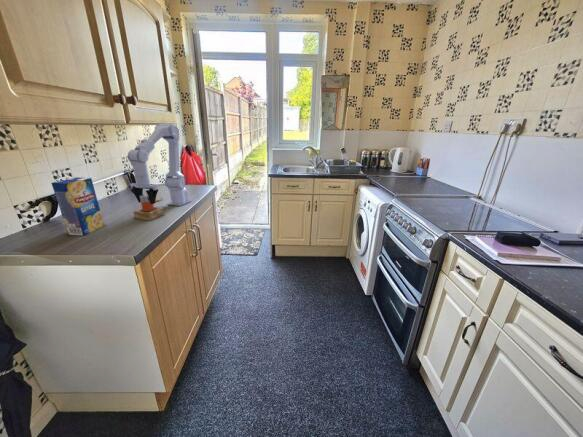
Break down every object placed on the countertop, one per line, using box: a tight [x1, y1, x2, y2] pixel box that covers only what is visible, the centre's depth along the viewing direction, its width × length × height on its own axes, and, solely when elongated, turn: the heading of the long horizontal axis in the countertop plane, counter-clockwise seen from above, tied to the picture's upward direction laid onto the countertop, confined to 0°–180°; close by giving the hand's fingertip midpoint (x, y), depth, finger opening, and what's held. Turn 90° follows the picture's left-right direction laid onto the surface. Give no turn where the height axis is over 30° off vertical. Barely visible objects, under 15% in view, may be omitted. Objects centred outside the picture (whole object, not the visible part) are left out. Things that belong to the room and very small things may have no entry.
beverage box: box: [50, 176, 105, 236], centre depth 103 cm, size 7×11×22 cm, turn 176°
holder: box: [133, 206, 165, 221], centre depth 124 cm, size 9×9×4 cm
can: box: [140, 193, 155, 212], centre depth 122 cm, size 5×5×11 cm
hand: (147, 202), depth 122 cm, fingers open, 7 cm apart
